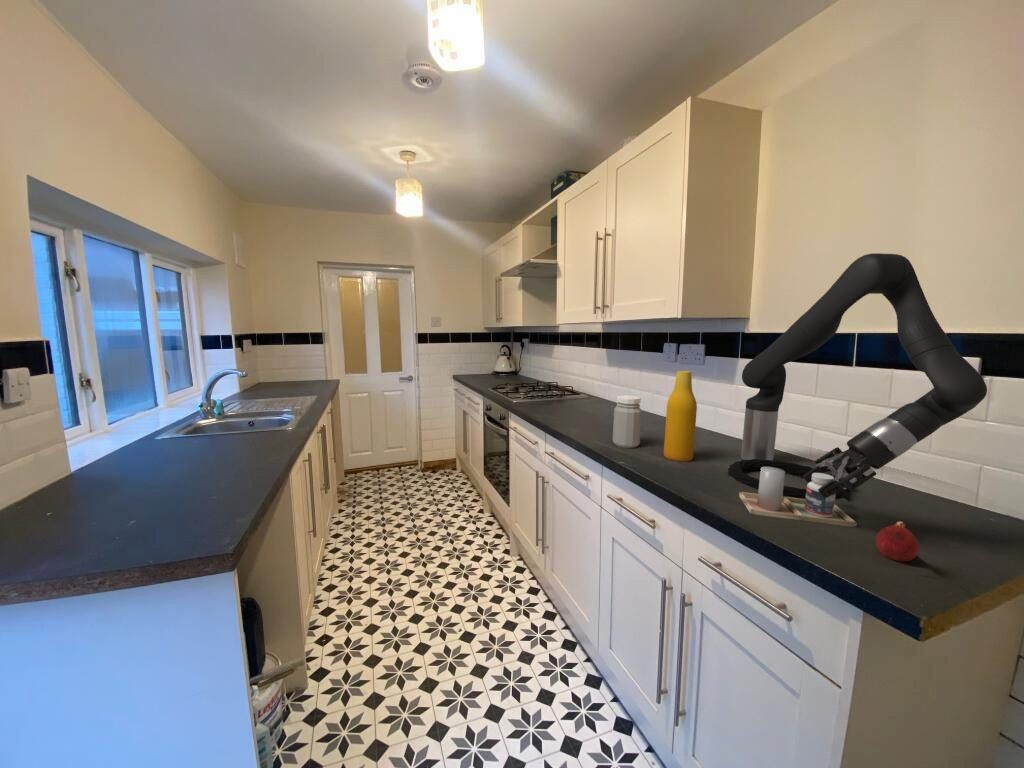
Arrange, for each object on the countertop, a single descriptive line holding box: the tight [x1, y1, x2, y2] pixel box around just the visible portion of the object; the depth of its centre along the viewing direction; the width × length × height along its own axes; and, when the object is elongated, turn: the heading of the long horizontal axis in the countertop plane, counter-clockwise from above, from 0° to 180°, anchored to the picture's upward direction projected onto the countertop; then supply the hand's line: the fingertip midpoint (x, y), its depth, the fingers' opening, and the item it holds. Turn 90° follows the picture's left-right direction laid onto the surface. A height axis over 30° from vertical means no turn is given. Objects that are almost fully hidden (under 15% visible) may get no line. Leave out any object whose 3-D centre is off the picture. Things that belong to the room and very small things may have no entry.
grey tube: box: [757, 467, 786, 511], centre depth 96 cm, size 5×5×9 cm
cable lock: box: [727, 459, 853, 499], centre depth 114 cm, size 28×4×30 cm
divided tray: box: [738, 491, 858, 528], centre depth 95 cm, size 11×20×2 cm, turn 74°
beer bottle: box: [663, 370, 698, 463], centre depth 135 cm, size 9×9×29 cm
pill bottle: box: [804, 473, 836, 518], centre depth 93 cm, size 5×5×9 cm
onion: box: [875, 521, 920, 563], centre depth 75 cm, size 6×6×8 cm
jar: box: [612, 394, 643, 449], centre depth 150 cm, size 10×10×18 cm
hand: (813, 487), depth 93 cm, fingers open, 8 cm apart
